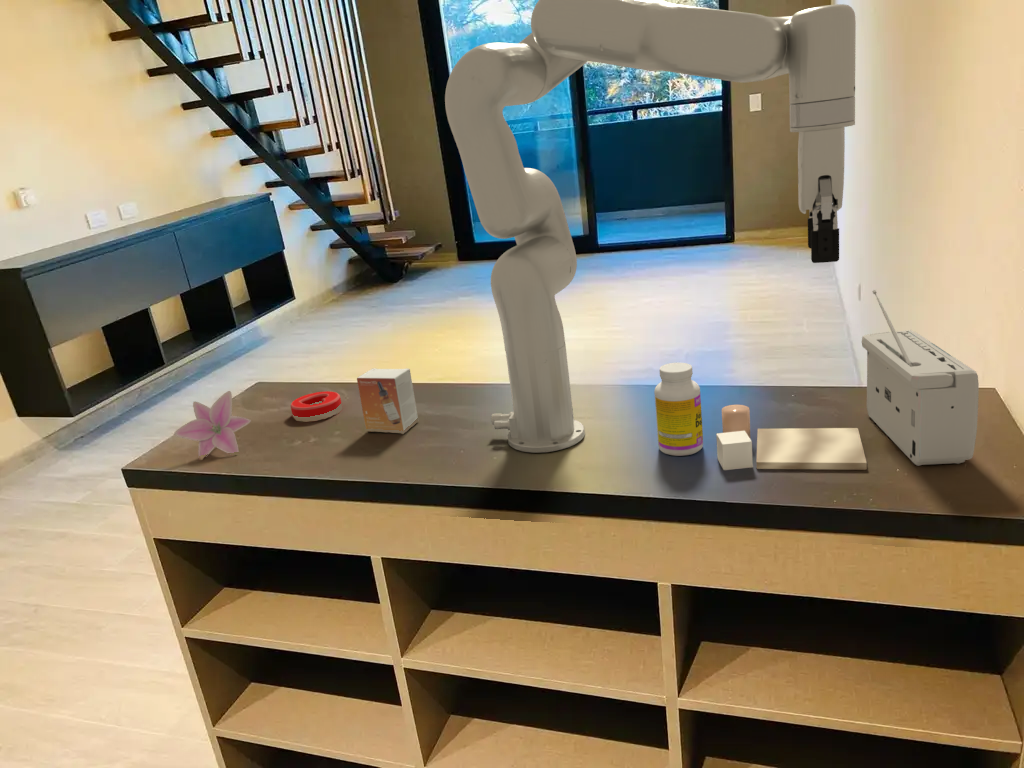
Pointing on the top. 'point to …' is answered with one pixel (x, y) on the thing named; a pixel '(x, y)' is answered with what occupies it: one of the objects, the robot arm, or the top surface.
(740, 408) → the peach rounded capsule
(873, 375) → the stereo radio cassette player
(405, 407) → the small box
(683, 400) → the supplement bottle
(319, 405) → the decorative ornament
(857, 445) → the ash board
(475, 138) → the robot arm
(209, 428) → the lily
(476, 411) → the top surface
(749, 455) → the off-white block
